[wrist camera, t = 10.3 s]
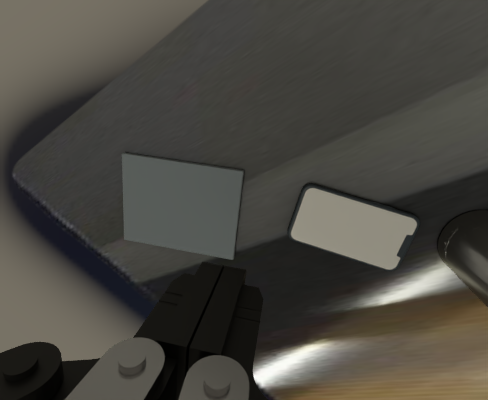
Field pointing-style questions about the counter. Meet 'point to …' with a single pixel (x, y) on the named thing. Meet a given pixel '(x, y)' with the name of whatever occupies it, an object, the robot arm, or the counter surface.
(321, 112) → the counter surface
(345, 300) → the counter surface
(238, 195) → the mat
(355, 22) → the counter surface
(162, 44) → the counter surface
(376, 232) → the smartphone
